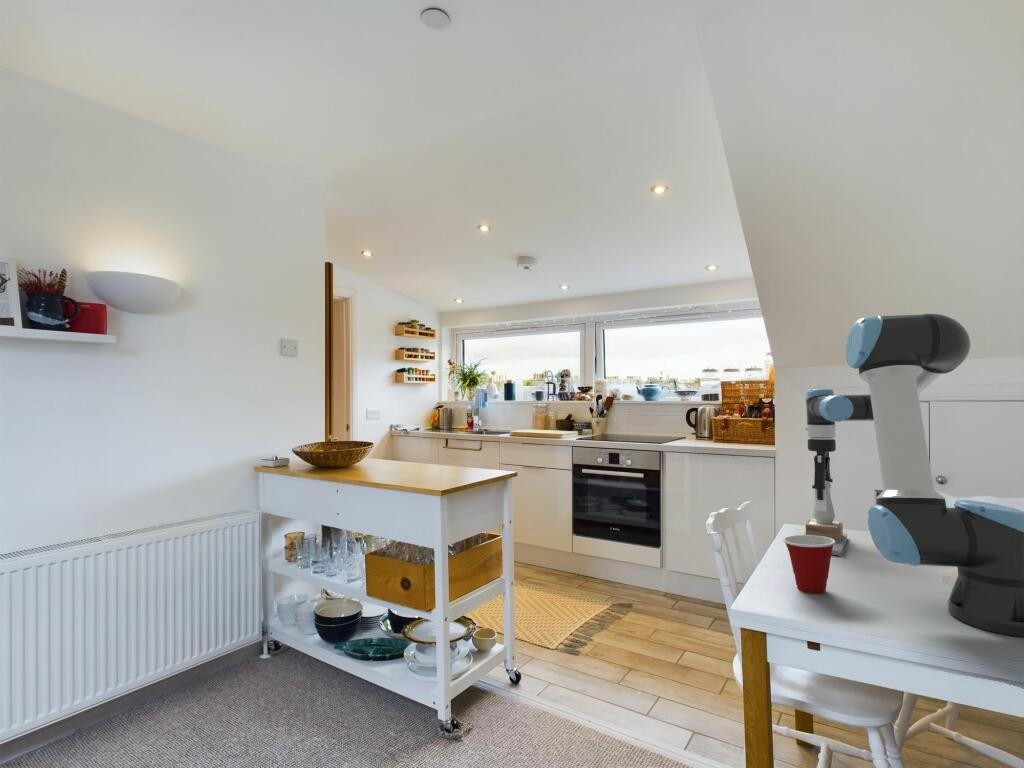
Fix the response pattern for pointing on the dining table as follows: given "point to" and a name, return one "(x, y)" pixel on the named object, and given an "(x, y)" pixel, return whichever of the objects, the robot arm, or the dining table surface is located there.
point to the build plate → (839, 546)
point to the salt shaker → (829, 514)
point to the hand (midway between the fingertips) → (823, 506)
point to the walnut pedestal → (825, 529)
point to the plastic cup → (810, 561)
